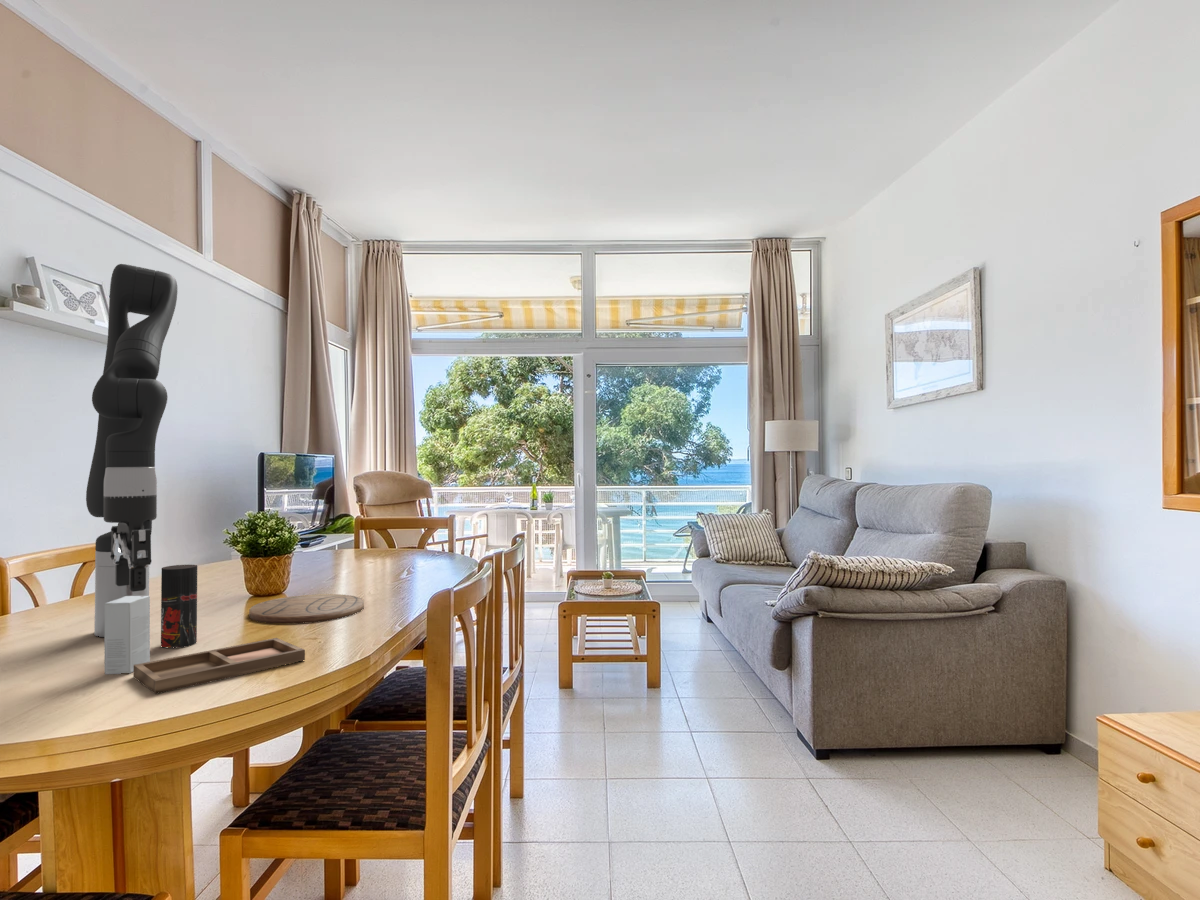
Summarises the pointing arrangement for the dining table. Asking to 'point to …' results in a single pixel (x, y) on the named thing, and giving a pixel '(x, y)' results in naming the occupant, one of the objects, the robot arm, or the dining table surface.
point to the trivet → (306, 608)
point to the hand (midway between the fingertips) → (130, 588)
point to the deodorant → (178, 606)
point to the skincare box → (126, 633)
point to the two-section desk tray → (216, 664)
